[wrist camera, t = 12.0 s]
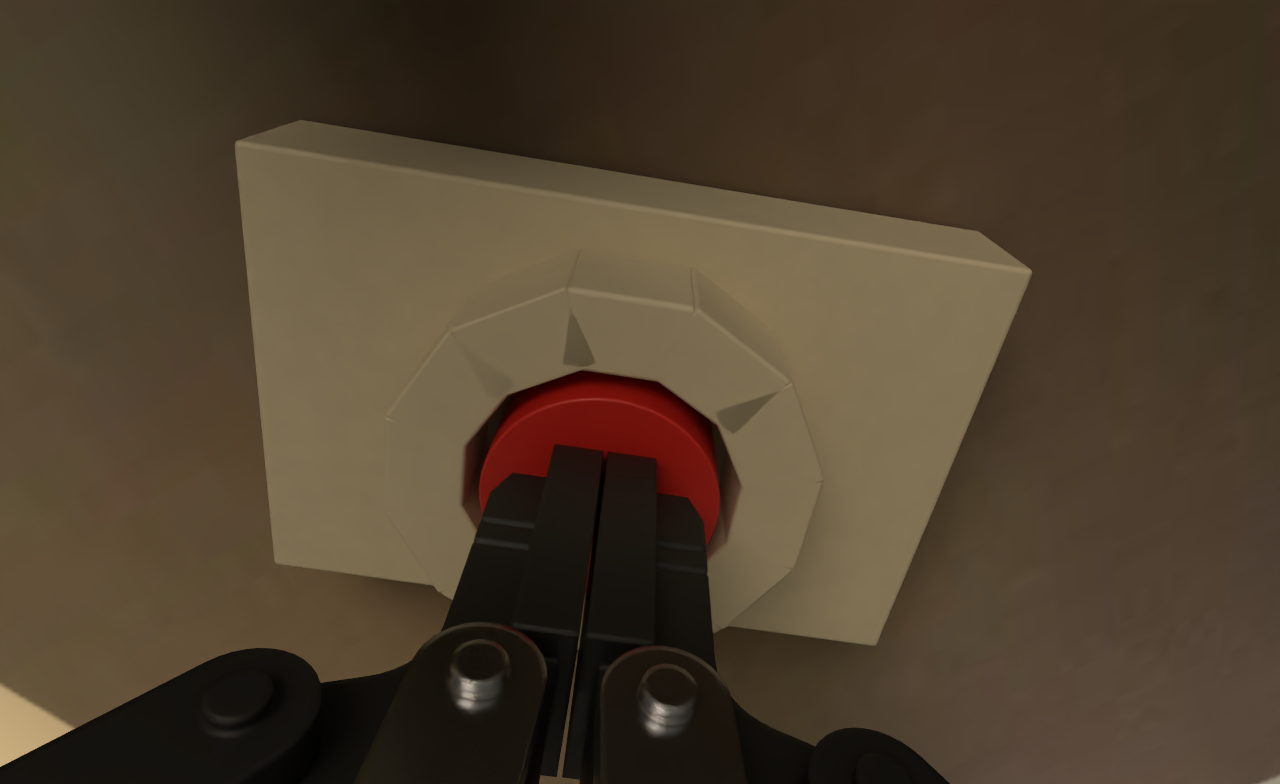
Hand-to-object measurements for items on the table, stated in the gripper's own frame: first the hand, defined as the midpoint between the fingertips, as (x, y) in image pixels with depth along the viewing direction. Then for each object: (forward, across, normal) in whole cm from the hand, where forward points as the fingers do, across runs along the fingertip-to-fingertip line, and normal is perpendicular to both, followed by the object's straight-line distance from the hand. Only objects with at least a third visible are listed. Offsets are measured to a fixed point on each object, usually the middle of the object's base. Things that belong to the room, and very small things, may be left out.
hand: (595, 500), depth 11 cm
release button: (+2, 0, 0) cm, 2 cm away
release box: (+4, 0, 0) cm, 4 cm away
